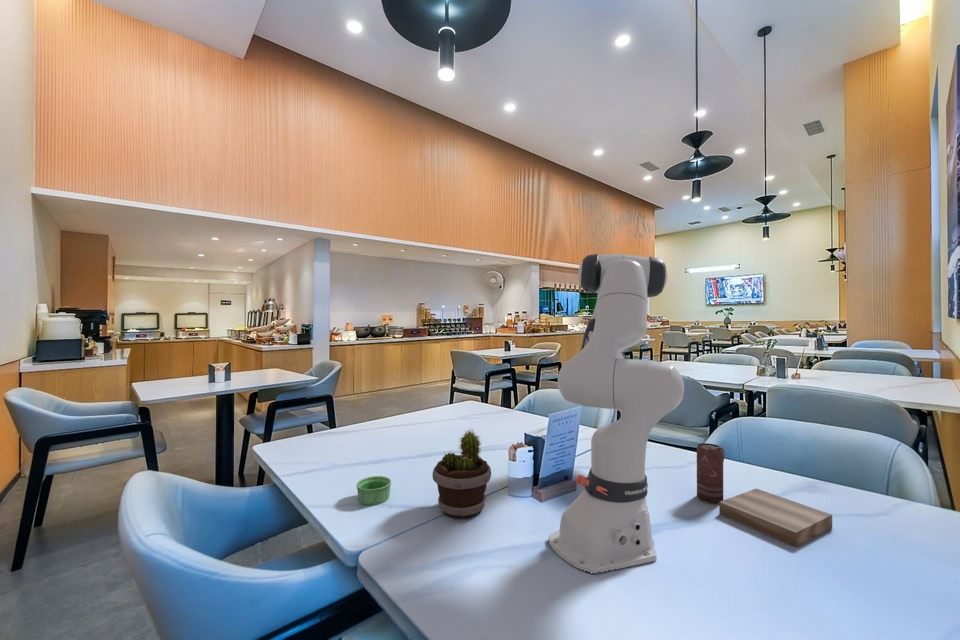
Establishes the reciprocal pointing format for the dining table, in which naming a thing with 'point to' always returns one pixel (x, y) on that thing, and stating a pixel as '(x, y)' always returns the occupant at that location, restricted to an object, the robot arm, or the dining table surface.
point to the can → (710, 473)
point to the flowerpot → (462, 479)
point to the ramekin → (373, 490)
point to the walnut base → (776, 516)
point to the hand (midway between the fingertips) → (670, 400)
